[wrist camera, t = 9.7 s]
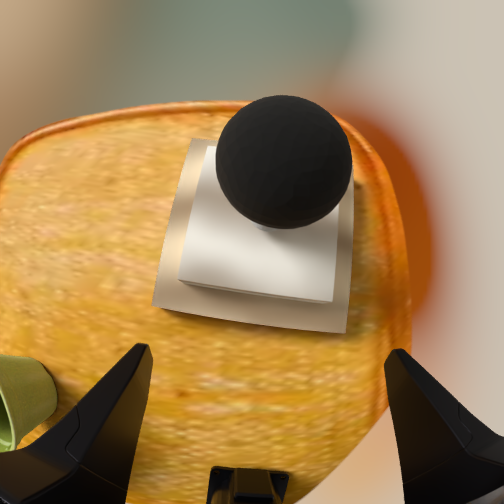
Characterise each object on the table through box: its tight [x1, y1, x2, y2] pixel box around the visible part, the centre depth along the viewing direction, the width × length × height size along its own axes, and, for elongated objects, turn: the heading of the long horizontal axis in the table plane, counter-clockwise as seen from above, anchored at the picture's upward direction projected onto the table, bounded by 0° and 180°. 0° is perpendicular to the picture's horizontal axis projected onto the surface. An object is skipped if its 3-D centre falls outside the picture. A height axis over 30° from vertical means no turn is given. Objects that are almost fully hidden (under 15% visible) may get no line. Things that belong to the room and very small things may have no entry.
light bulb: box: [215, 95, 352, 232], centre depth 14 cm, size 6×6×10 cm
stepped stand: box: [152, 138, 354, 333], centre depth 20 cm, size 14×14×4 cm
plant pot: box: [0, 354, 57, 452], centre depth 13 cm, size 9×9×9 cm
